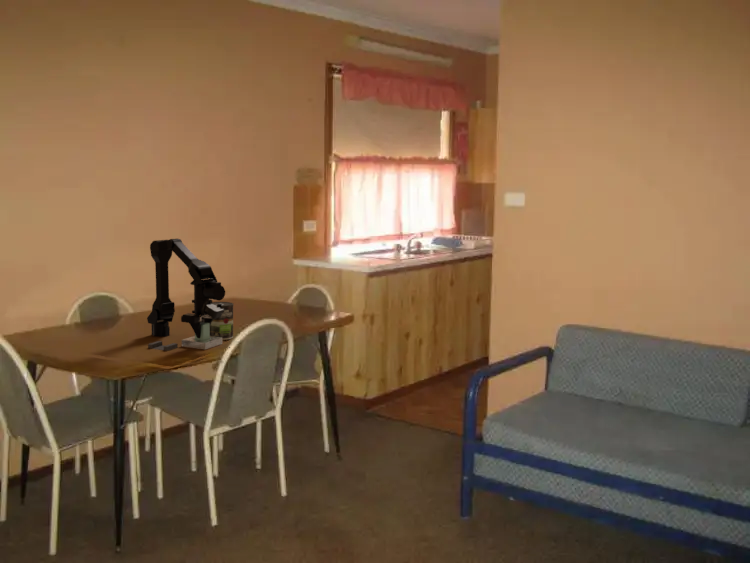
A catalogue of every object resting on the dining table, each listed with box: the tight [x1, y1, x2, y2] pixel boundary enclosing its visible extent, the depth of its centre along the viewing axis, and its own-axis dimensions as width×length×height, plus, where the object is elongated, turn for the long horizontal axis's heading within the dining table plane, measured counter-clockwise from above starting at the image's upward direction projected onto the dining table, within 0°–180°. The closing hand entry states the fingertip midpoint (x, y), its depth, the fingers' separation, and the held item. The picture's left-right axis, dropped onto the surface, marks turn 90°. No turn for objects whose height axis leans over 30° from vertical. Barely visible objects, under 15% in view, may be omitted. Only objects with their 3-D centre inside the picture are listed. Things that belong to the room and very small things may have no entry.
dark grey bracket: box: [147, 340, 179, 352], centre depth 309 cm, size 9×6×2 cm, turn 66°
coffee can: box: [210, 301, 234, 341], centre depth 332 cm, size 10×10×14 cm
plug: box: [194, 319, 210, 341], centre depth 314 cm, size 4×4×10 cm
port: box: [181, 335, 223, 350], centre depth 315 cm, size 11×11×4 cm
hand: (202, 337), depth 314 cm, fingers closed on plug, 4 cm apart
